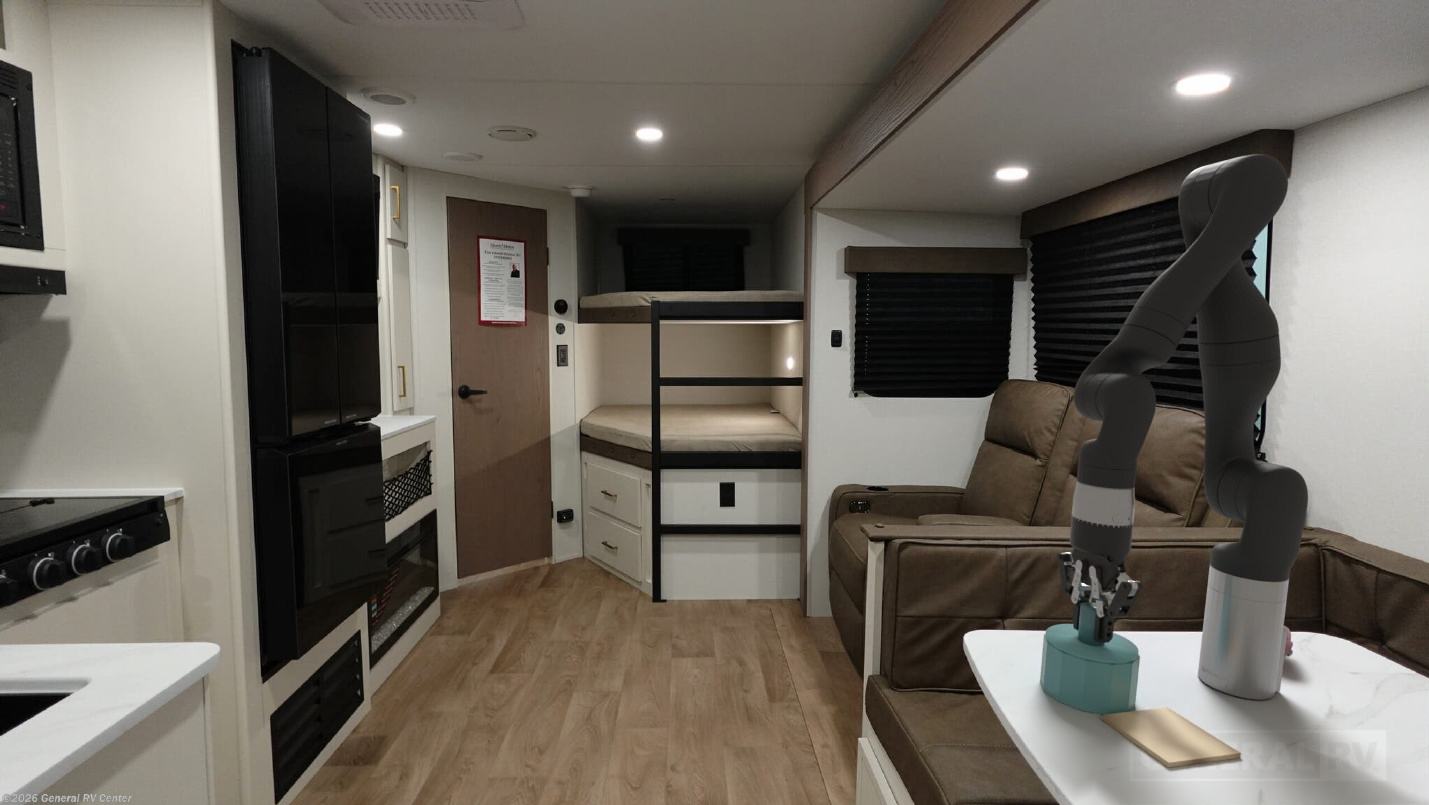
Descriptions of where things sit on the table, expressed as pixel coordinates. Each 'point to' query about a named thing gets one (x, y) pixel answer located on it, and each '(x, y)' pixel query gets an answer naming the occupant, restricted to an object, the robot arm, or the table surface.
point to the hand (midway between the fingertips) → (1091, 635)
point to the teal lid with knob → (1089, 667)
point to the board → (1170, 737)
